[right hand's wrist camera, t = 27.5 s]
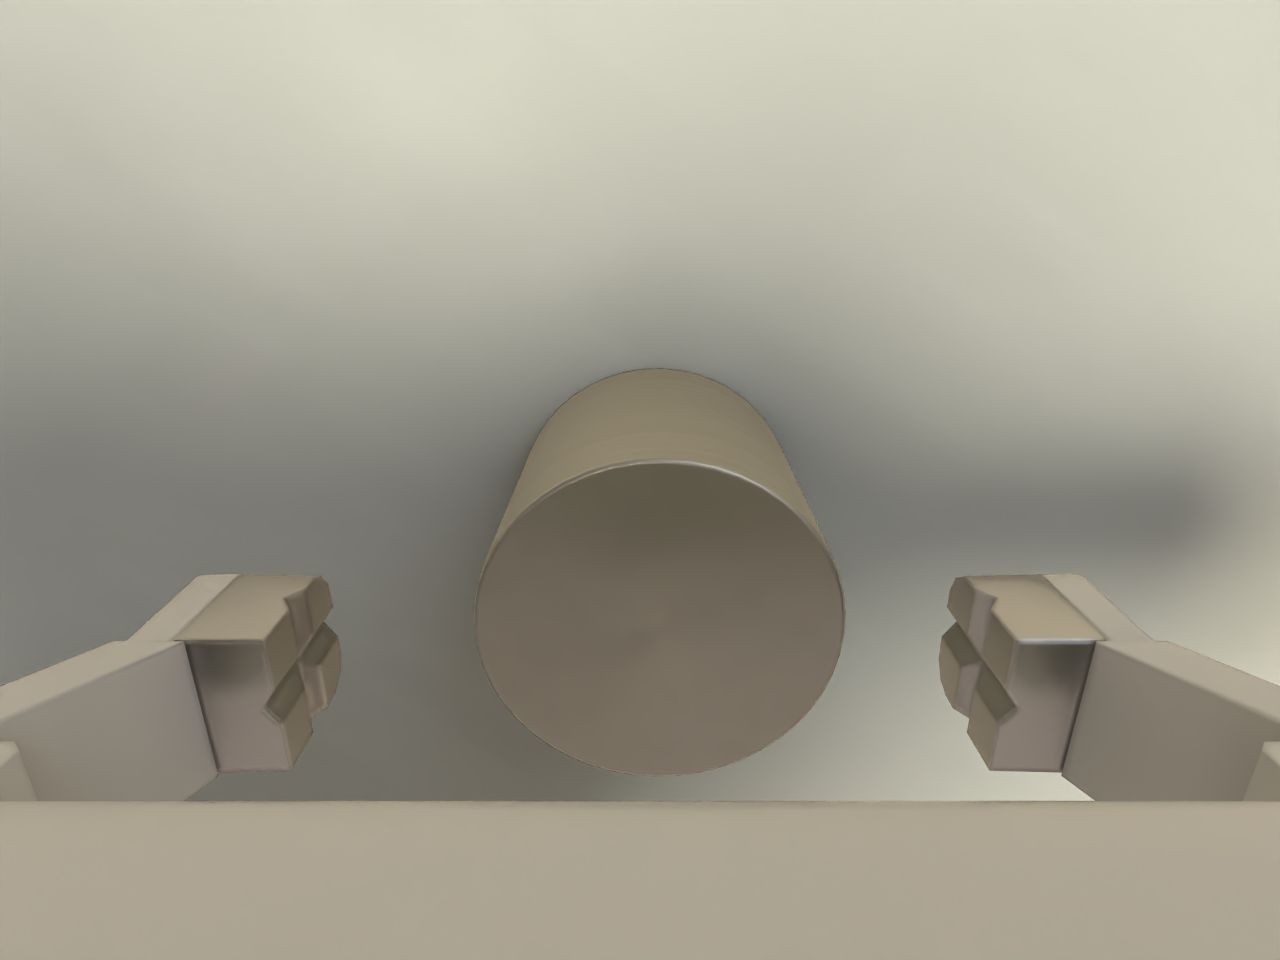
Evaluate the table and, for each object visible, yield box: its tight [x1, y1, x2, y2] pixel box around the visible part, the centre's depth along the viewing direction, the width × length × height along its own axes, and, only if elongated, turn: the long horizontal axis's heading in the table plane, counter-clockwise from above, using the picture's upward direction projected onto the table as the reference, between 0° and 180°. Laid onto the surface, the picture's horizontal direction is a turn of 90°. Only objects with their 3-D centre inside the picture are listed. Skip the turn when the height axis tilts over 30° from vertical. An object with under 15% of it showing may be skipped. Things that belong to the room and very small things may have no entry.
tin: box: [474, 369, 846, 776], centre depth 12 cm, size 5×5×4 cm
